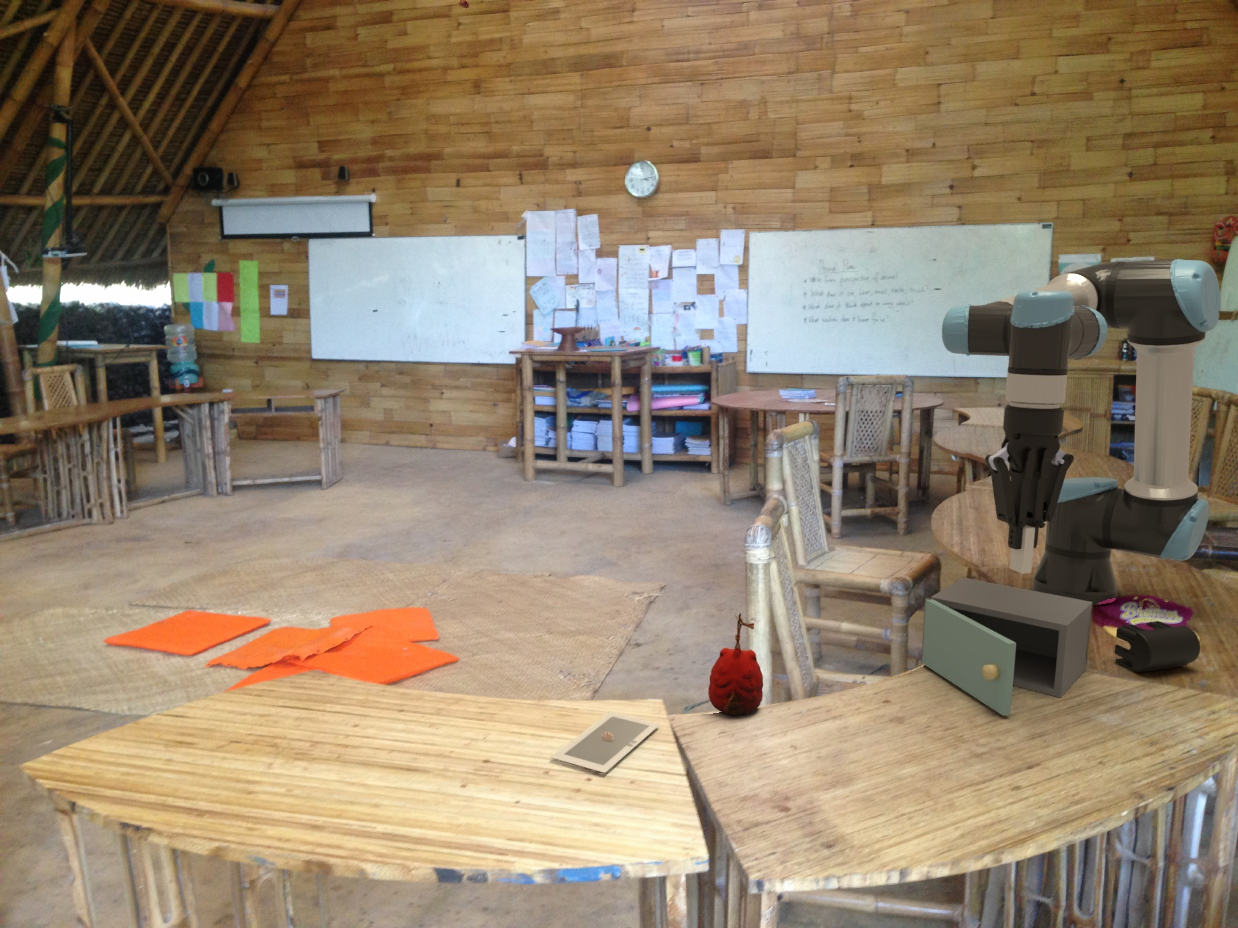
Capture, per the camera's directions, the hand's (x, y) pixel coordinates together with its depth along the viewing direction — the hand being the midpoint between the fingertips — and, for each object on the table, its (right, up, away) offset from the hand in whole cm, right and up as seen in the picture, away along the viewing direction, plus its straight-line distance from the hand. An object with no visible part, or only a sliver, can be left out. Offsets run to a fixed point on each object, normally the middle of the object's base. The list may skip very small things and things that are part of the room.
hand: (1020, 570), depth 132 cm
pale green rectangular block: (-7, -18, +6) cm, 20 cm away
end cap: (+28, -17, +15) cm, 36 cm away
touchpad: (-58, -22, -11) cm, 63 cm away
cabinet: (+4, -17, +15) cm, 23 cm away
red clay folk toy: (-41, -20, -1) cm, 45 cm away
